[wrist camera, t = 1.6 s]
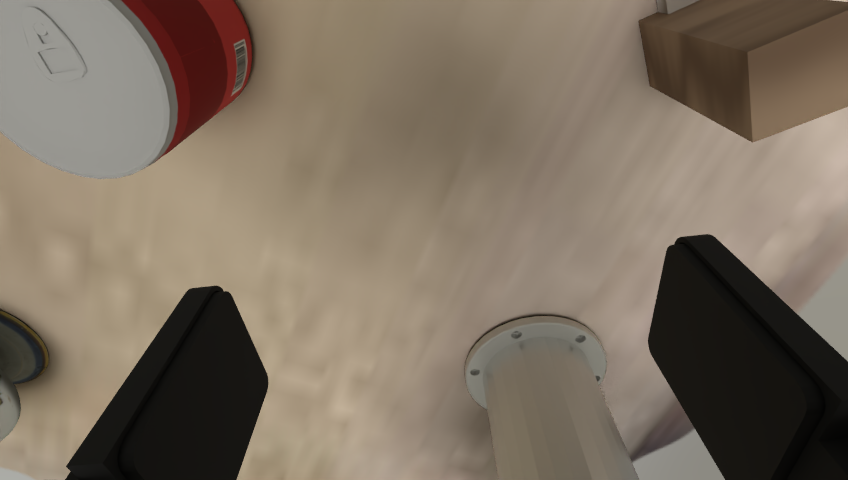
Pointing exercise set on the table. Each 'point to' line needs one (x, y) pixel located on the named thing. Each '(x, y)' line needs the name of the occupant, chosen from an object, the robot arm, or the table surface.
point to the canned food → (116, 77)
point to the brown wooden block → (750, 60)
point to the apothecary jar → (17, 366)
